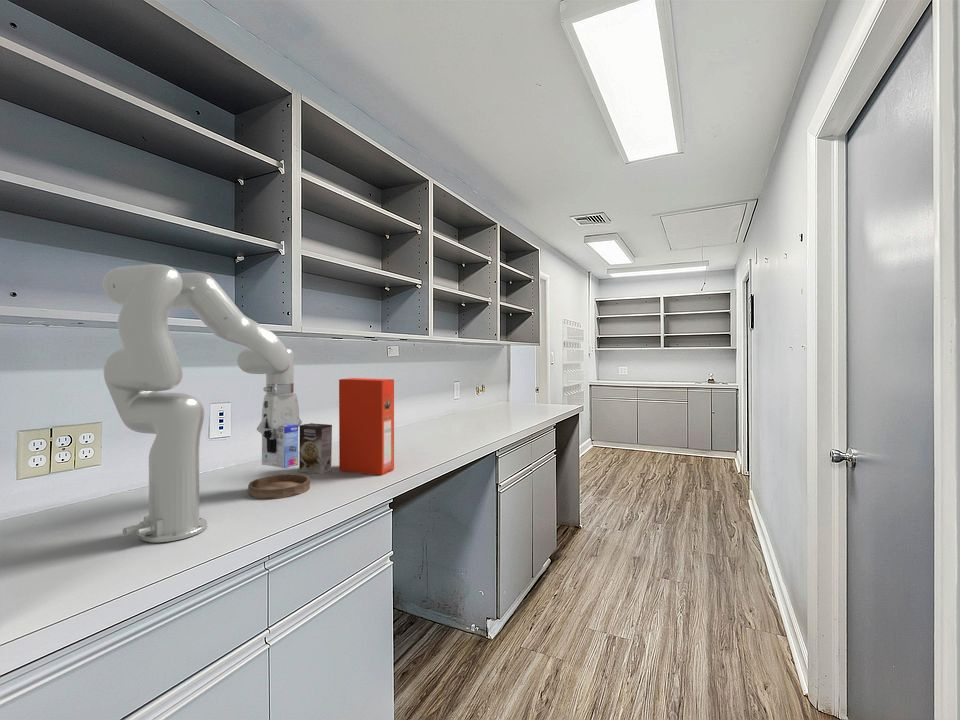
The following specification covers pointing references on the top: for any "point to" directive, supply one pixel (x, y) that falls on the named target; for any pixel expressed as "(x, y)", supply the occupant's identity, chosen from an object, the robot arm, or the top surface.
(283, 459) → the ink cartridge box
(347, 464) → the file binder
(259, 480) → the round tray
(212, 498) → the top surface
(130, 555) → the top surface
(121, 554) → the top surface
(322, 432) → the coffee box
